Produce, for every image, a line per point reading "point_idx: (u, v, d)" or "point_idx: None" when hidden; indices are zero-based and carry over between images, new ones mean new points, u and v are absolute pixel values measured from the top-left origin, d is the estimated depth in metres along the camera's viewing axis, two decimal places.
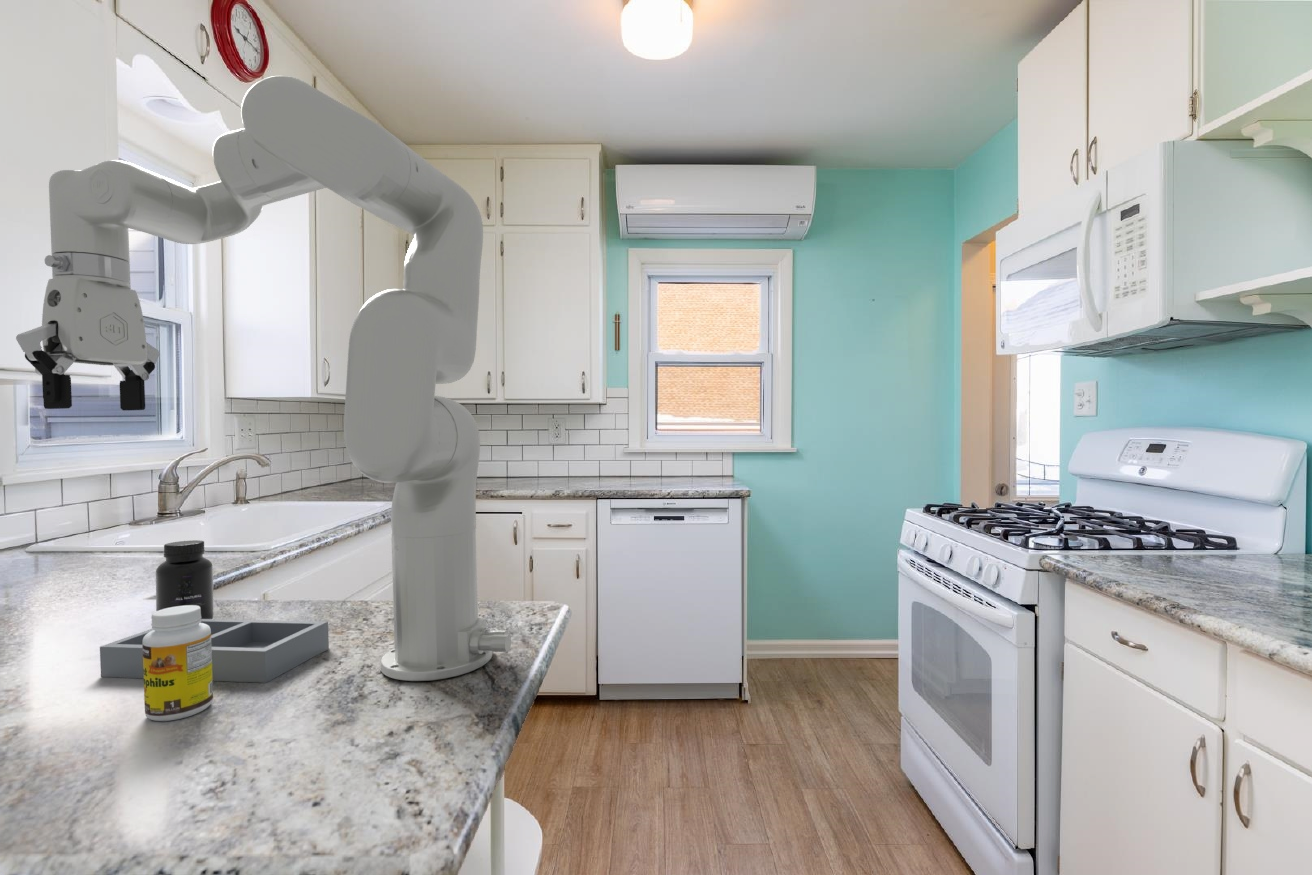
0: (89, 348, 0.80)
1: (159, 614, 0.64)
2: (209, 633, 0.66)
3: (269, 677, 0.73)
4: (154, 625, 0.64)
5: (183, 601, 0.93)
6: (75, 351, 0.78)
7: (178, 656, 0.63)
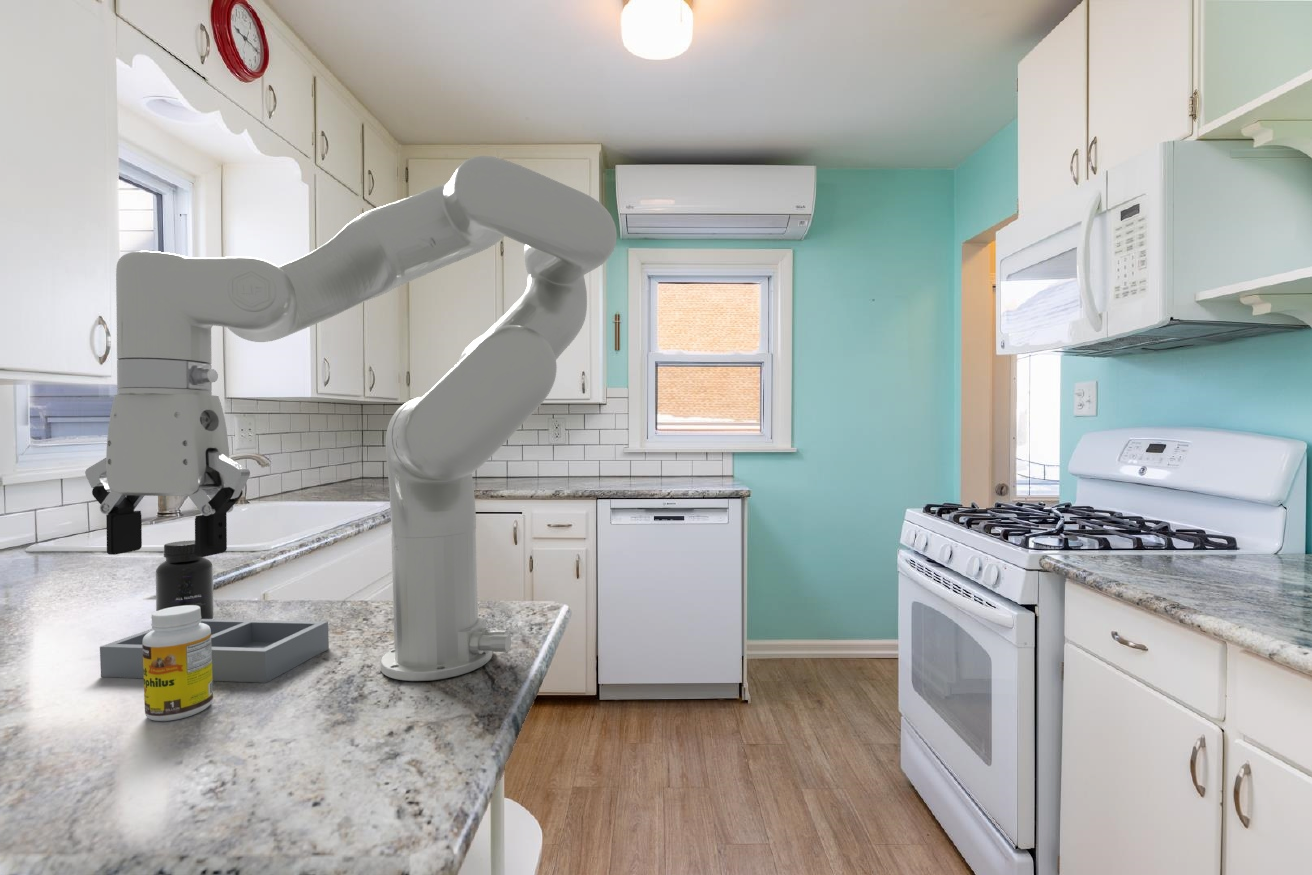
0: None
1: (159, 614, 0.64)
2: (209, 633, 0.66)
3: (269, 677, 0.73)
4: (154, 625, 0.64)
5: (183, 601, 0.93)
6: None
7: (178, 656, 0.63)
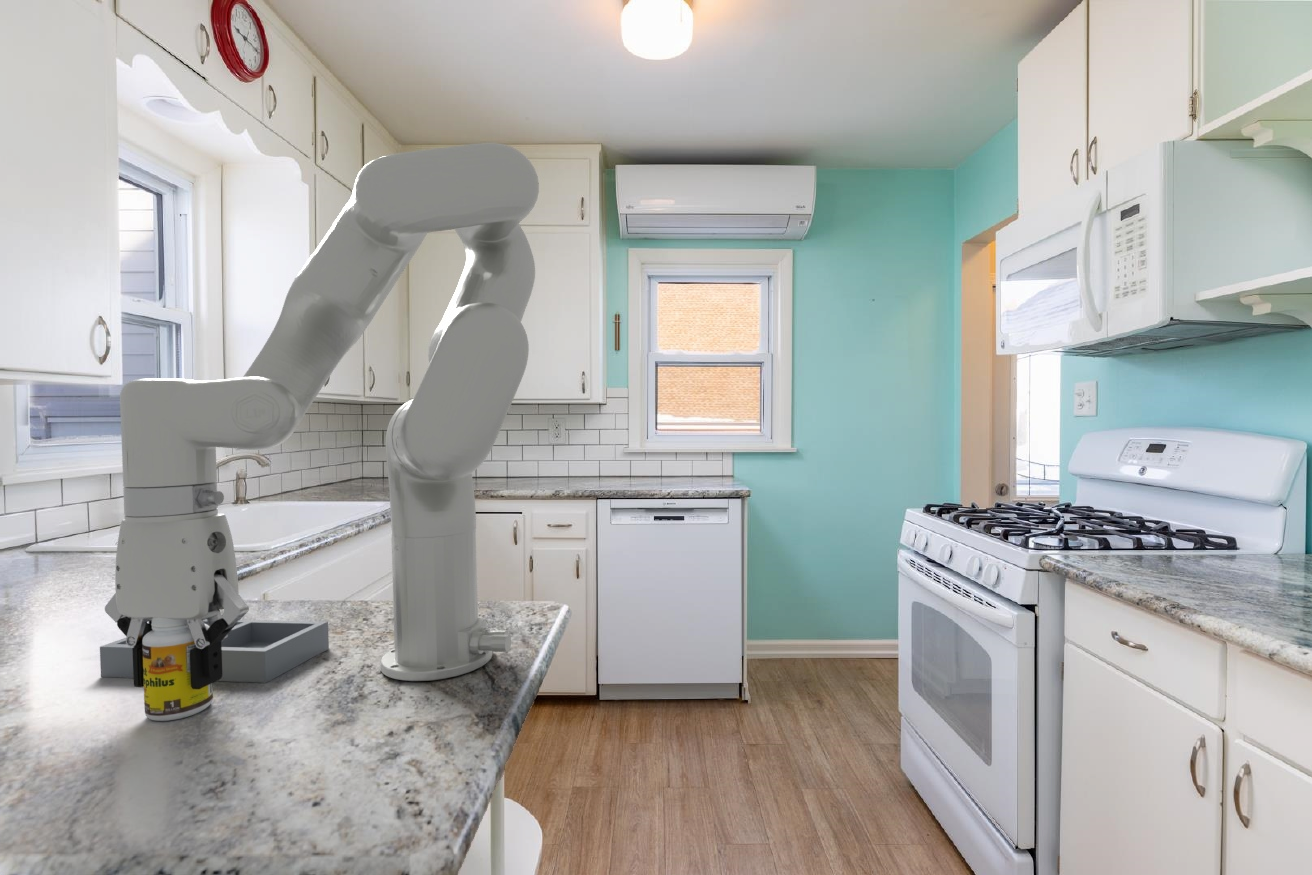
0: None
1: None
2: None
3: (269, 677, 0.73)
4: (154, 625, 0.64)
5: None
6: None
7: (178, 656, 0.63)
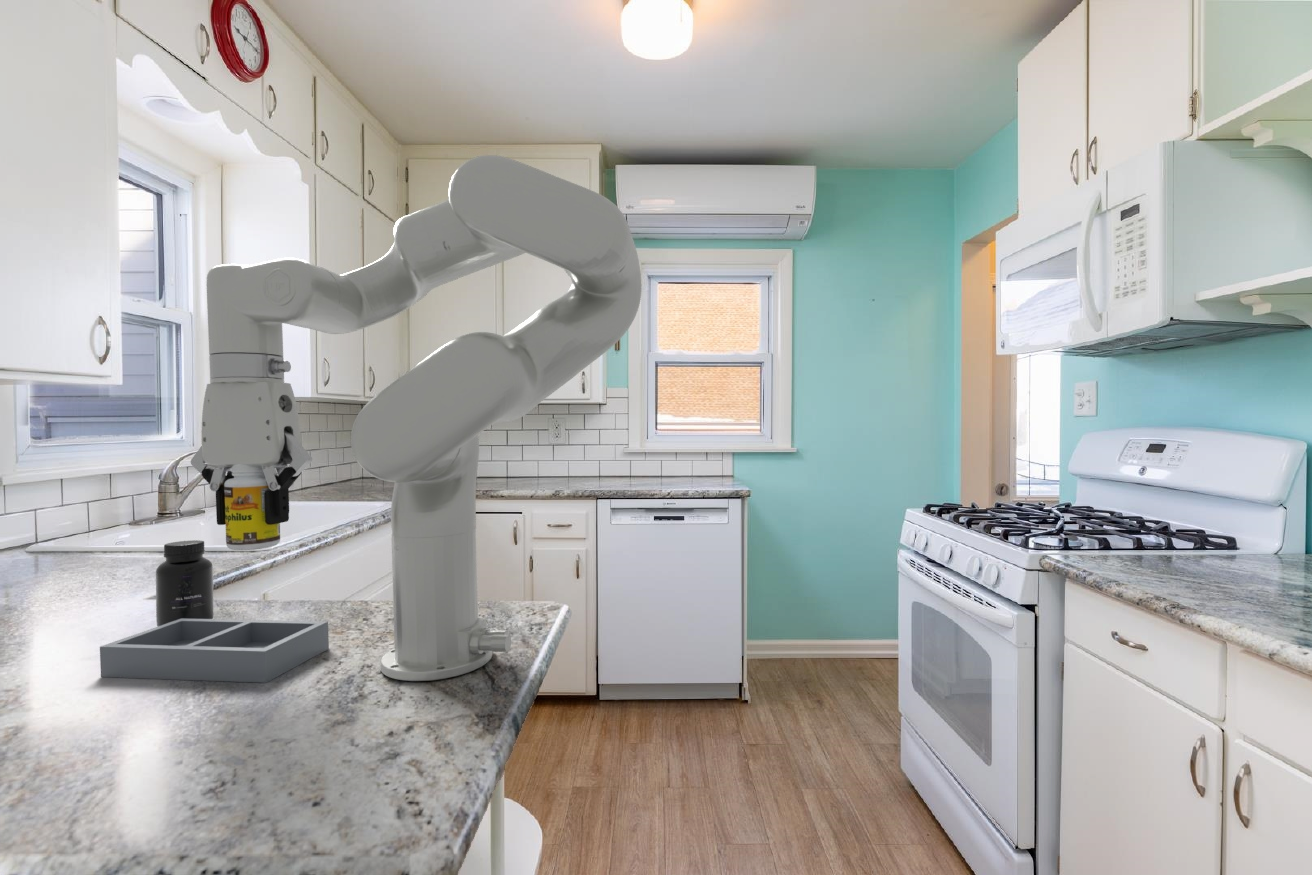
0: None
1: None
2: None
3: (269, 677, 0.73)
4: (234, 471, 0.77)
5: (183, 601, 0.93)
6: None
7: (255, 496, 0.76)
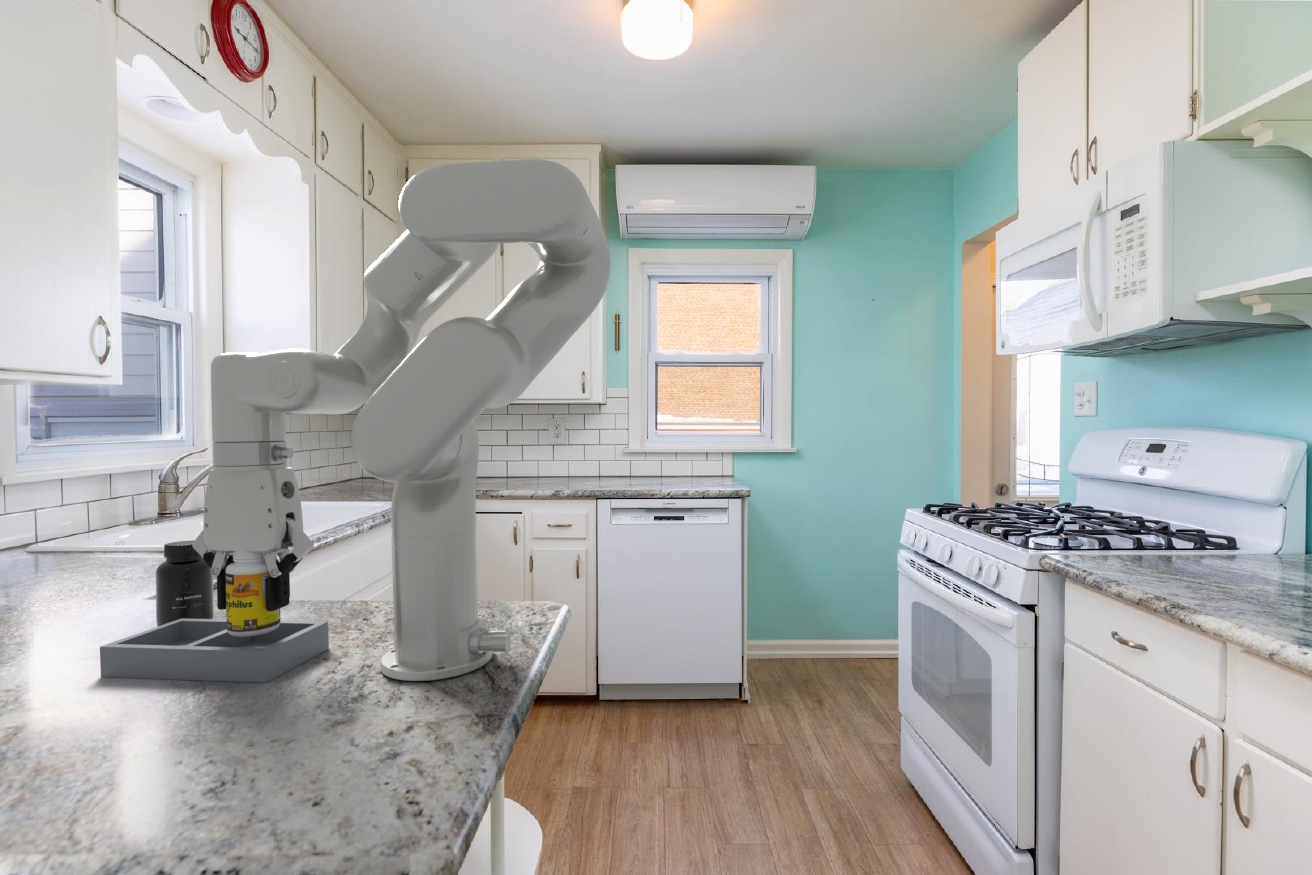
0: None
1: None
2: None
3: (269, 677, 0.73)
4: (236, 557, 0.77)
5: (183, 601, 0.93)
6: None
7: (256, 583, 0.76)
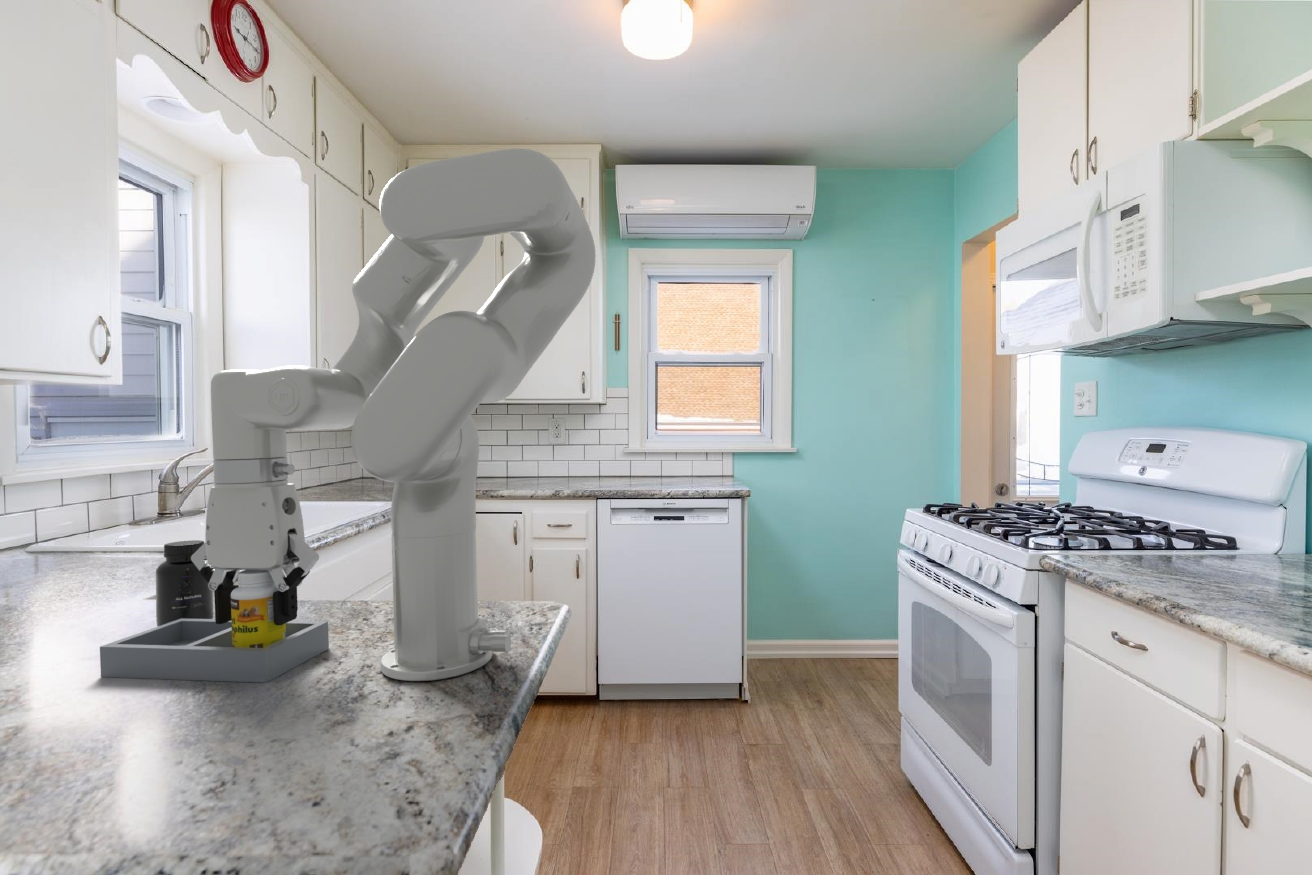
0: None
1: (244, 573, 0.77)
2: None
3: (269, 677, 0.73)
4: (240, 582, 0.77)
5: (183, 601, 0.93)
6: None
7: (261, 608, 0.76)
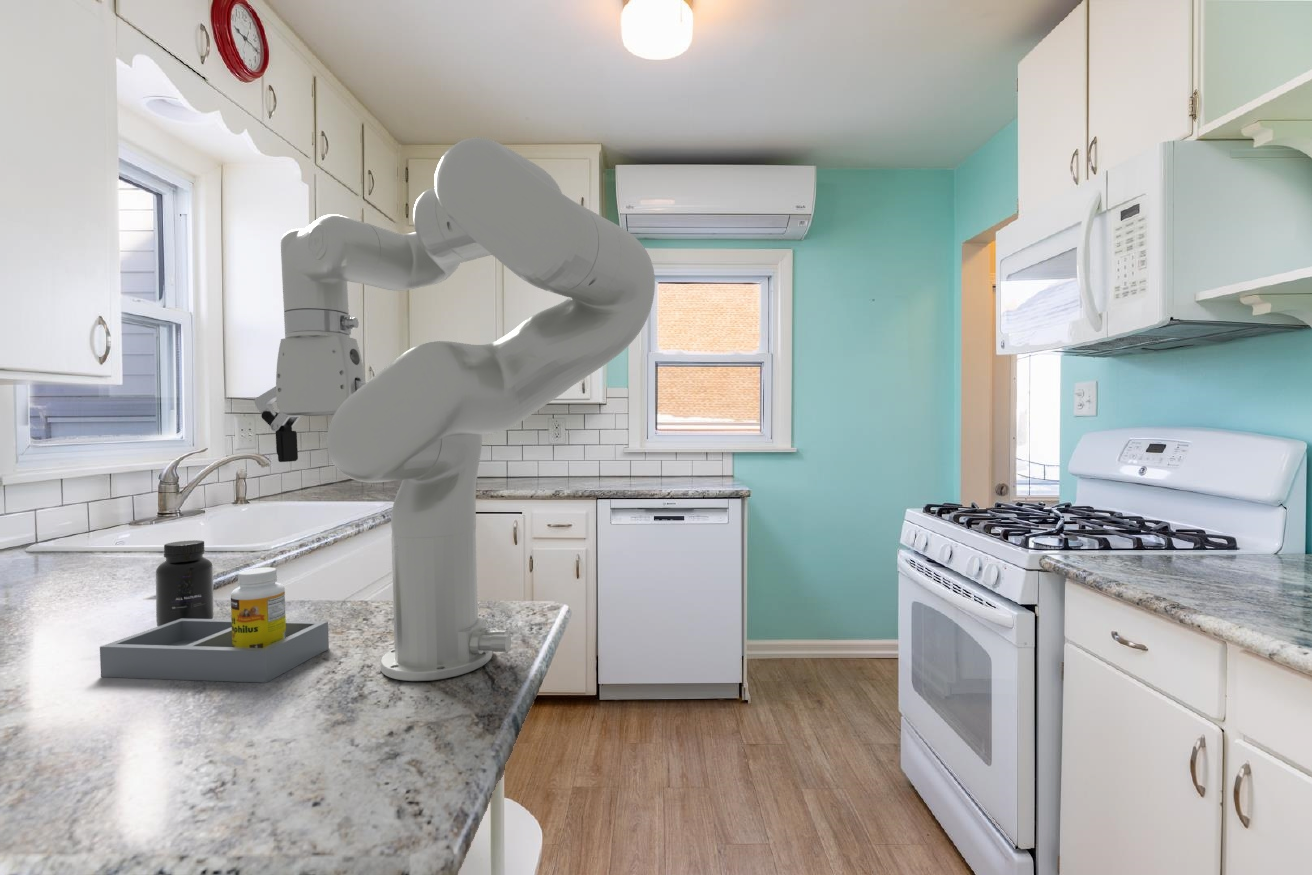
0: None
1: (244, 573, 0.77)
2: (284, 590, 0.79)
3: (269, 677, 0.73)
4: (240, 582, 0.77)
5: (183, 601, 0.93)
6: None
7: (261, 608, 0.76)
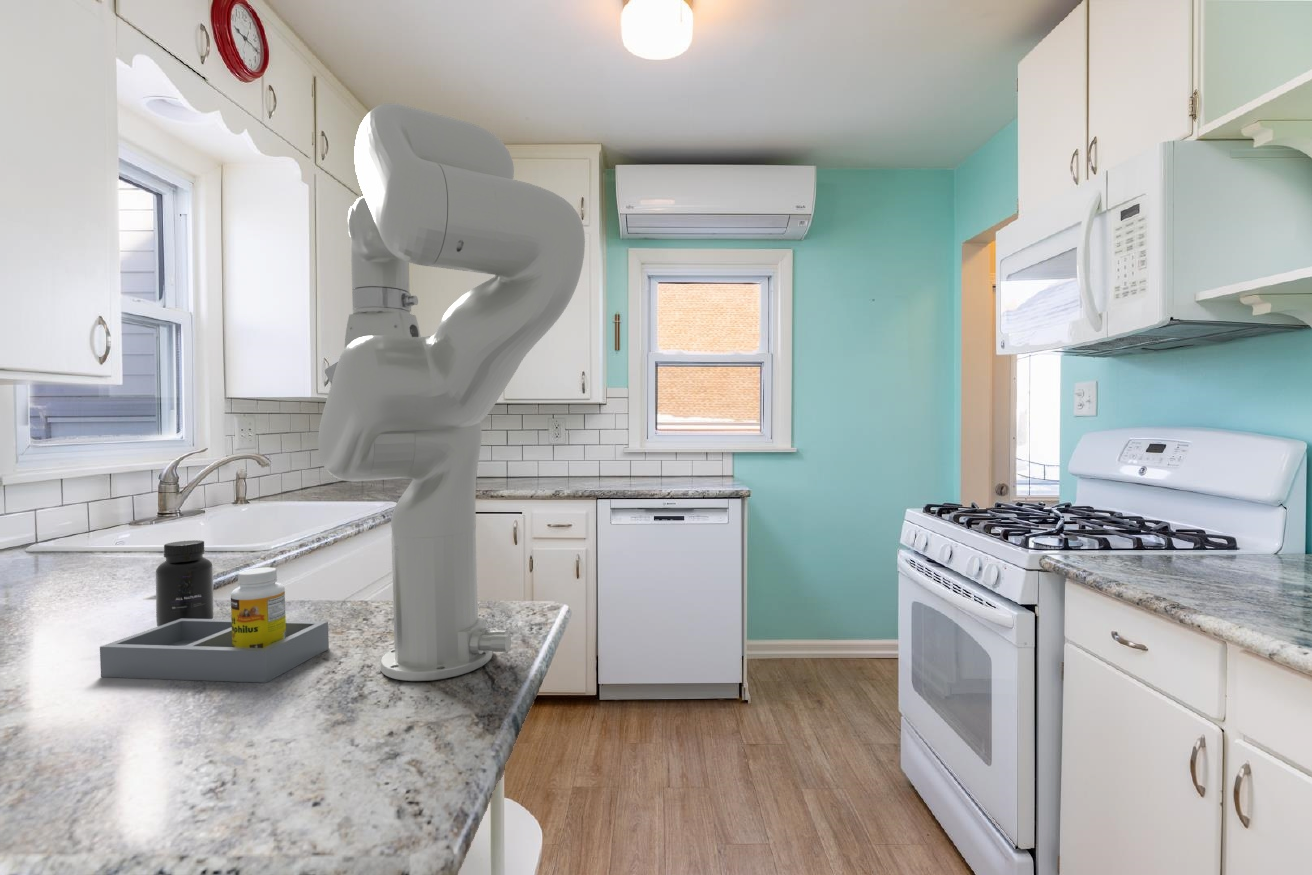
0: None
1: (244, 573, 0.77)
2: (284, 590, 0.79)
3: (269, 677, 0.73)
4: (240, 582, 0.77)
5: (183, 601, 0.93)
6: None
7: (261, 608, 0.76)
